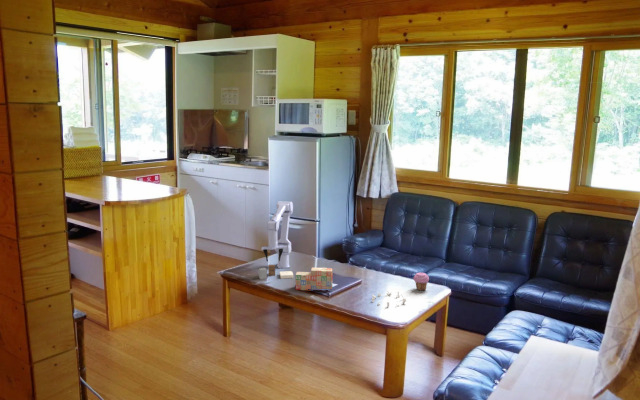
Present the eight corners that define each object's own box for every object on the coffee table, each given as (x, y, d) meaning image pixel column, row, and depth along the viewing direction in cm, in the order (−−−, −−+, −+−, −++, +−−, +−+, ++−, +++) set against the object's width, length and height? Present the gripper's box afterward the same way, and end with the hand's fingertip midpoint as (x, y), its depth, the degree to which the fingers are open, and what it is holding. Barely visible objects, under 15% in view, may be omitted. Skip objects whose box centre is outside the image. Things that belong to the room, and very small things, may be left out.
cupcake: (416, 292, 306) (417, 275, 304) (410, 287, 314) (411, 271, 313) (431, 291, 308) (431, 274, 306) (424, 286, 316) (425, 270, 314)
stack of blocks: (295, 290, 309) (295, 269, 307) (297, 286, 315) (296, 266, 313) (331, 291, 307) (331, 271, 305) (332, 288, 313) (332, 268, 311)
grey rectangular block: (258, 277, 332) (258, 268, 331) (264, 276, 334) (264, 267, 333) (260, 279, 329) (260, 270, 328) (266, 278, 330) (266, 269, 329)
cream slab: (279, 275, 338) (279, 271, 337) (292, 274, 339) (292, 271, 339) (280, 279, 330) (280, 275, 330) (293, 278, 331) (293, 274, 331)
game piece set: (413, 301, 292) (413, 294, 291) (391, 311, 278) (391, 304, 277) (385, 293, 305) (385, 286, 305) (363, 301, 291) (363, 295, 291)
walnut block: (268, 273, 340) (268, 264, 339) (274, 273, 340) (274, 264, 339) (268, 275, 336) (268, 266, 335) (275, 275, 336) (275, 266, 335)
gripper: (261, 241, 328) (262, 263, 330) (285, 241, 330) (285, 262, 333) (261, 239, 335) (261, 259, 337) (283, 238, 337) (284, 258, 340)
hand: (273, 260), depth 335 cm, fingers open, 7 cm apart
